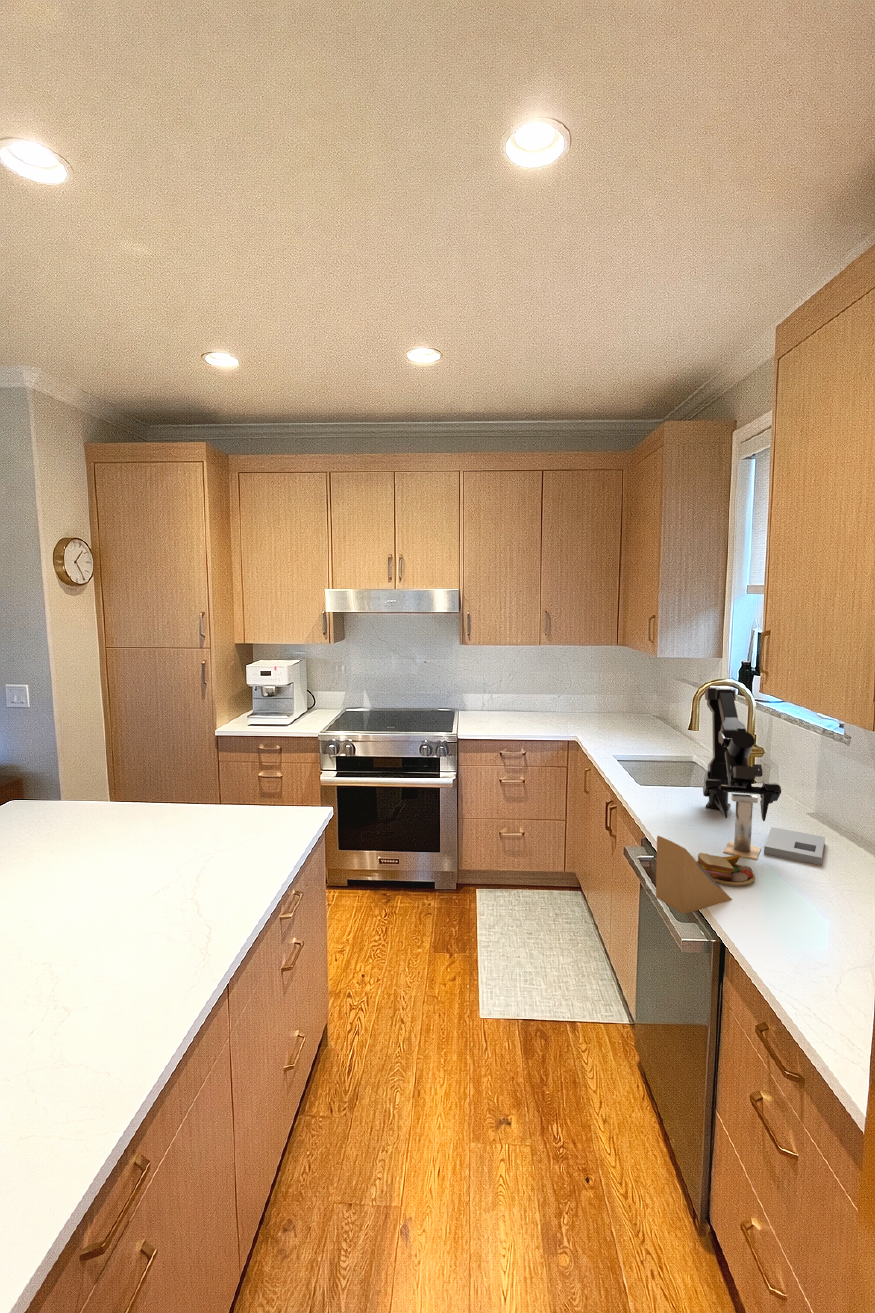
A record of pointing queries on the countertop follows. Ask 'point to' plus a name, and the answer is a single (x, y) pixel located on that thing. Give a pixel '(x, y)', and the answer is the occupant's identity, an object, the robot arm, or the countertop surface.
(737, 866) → the toy sandwich meal
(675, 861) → the sandwich container
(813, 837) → the cover plate
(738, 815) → the t key
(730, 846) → the coaster
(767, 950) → the countertop surface
